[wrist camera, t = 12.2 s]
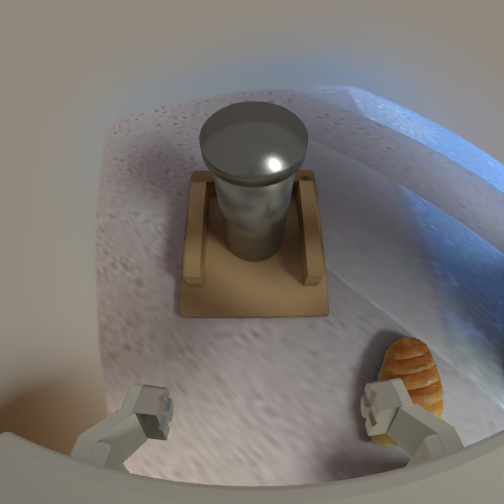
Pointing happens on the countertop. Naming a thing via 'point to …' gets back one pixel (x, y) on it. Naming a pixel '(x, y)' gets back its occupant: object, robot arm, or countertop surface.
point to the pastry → (412, 378)
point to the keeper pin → (253, 173)
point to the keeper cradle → (252, 273)
